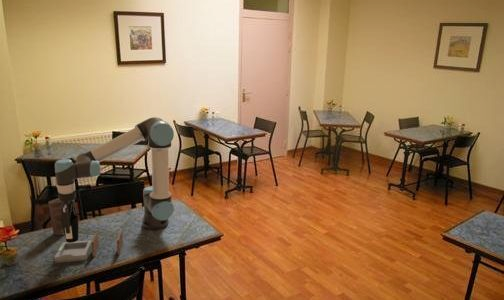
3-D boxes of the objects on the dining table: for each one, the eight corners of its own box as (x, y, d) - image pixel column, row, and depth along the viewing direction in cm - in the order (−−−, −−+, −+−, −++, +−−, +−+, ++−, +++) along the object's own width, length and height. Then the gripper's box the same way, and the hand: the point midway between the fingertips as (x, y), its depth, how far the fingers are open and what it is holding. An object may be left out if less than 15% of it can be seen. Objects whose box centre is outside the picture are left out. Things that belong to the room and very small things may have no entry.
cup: (74, 244, 181) (71, 222, 178) (60, 242, 183) (57, 220, 179) (84, 237, 188) (81, 215, 185) (70, 235, 190) (68, 213, 187)
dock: (92, 245, 196) (91, 239, 195) (86, 260, 183) (85, 254, 182) (63, 247, 193) (62, 241, 192) (55, 262, 180) (54, 256, 179)
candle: (55, 237, 202) (50, 204, 196) (51, 232, 207) (46, 199, 202) (70, 233, 207) (65, 200, 201) (66, 228, 212) (61, 196, 207)
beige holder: (122, 244, 198) (121, 230, 195) (120, 254, 188) (118, 240, 186) (97, 246, 195) (95, 232, 193) (92, 256, 186) (91, 242, 184)
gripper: (64, 183, 187) (69, 224, 194) (51, 200, 168) (57, 245, 174) (80, 183, 189) (84, 224, 195) (69, 199, 169) (74, 244, 176)
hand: (71, 234), depth 185 cm, fingers closed on cup, 8 cm apart
